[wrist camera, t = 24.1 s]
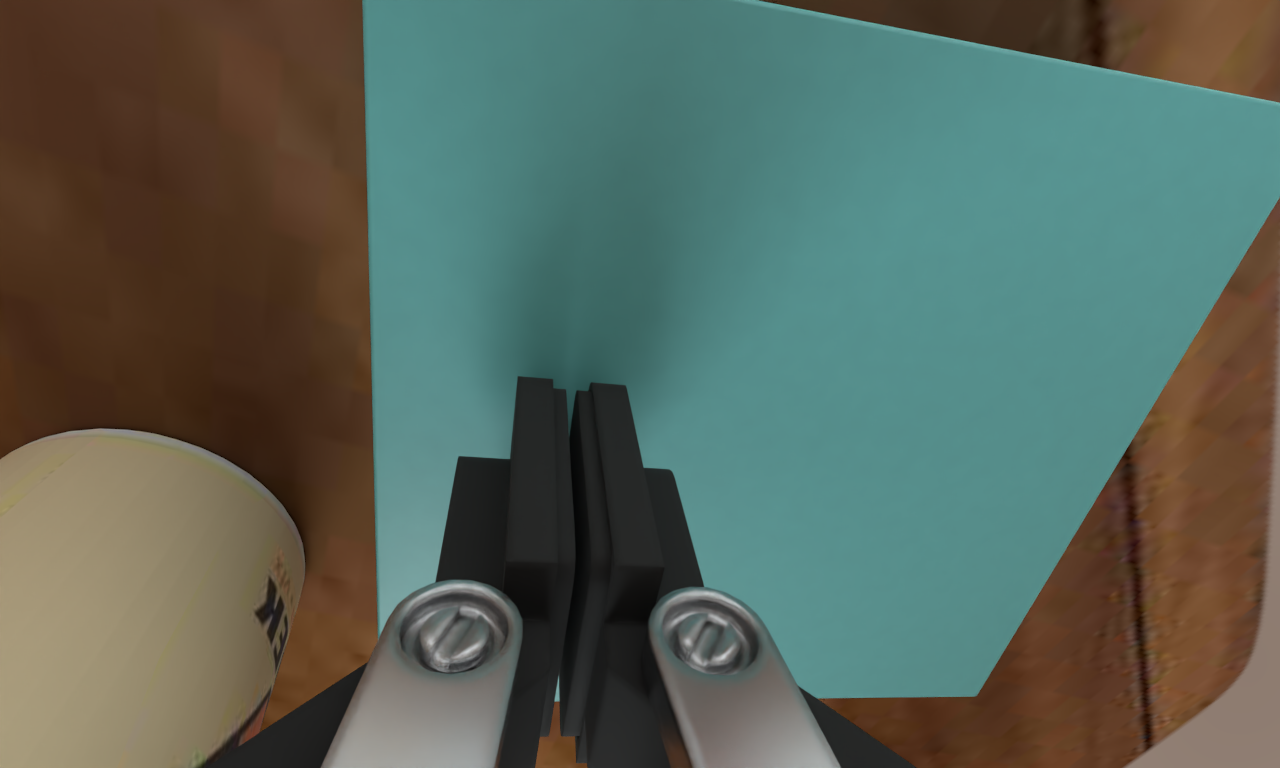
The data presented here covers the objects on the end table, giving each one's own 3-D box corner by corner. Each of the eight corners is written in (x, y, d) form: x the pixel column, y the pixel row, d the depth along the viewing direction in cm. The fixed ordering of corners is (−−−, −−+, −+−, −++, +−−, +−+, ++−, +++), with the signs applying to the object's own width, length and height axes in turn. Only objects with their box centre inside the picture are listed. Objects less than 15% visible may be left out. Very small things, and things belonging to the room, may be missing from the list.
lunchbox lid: (386, 670, 14) (378, 705, 14) (373, -73, 8) (359, -78, 8) (959, 668, 17) (977, 697, 16) (1282, 105, 11) (1333, 112, 10)
